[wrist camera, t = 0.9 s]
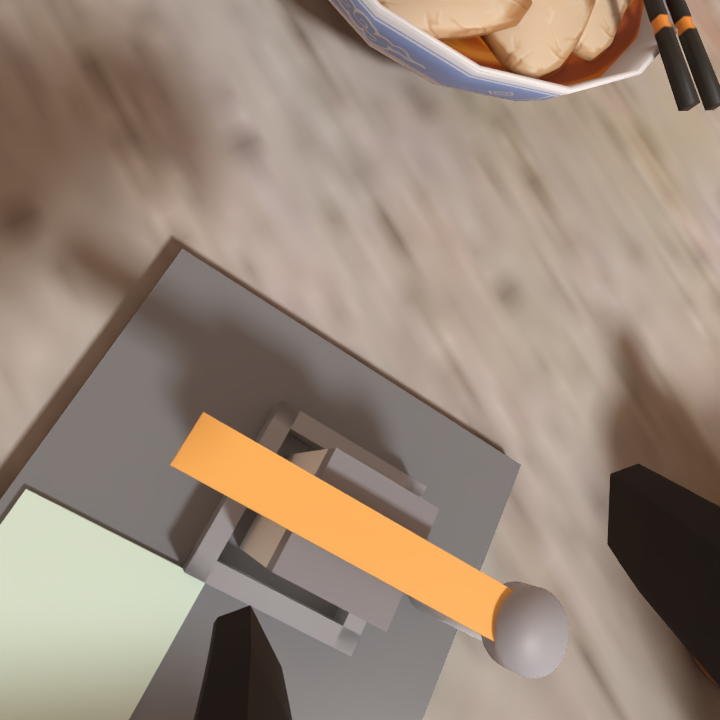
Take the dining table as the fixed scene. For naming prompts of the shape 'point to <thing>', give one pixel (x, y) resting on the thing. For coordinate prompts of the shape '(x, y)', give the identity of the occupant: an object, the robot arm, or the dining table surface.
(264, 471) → the orange flat bar
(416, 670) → the socket board
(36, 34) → the dining table surface
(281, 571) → the plug
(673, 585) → the robot arm
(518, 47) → the ramen bowl
